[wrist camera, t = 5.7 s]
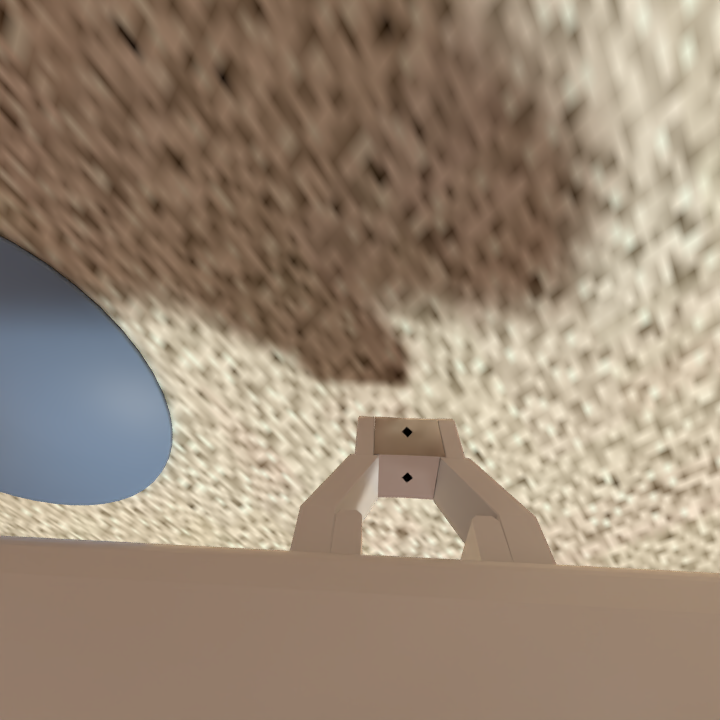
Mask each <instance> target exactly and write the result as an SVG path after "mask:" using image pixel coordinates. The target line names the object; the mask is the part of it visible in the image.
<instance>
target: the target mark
mask: <svg viewBox="0 0 720 720" xmlns="http://www.w3.org/2000/svg"><path fill="white" fill-rule="evenodd" d="M171 447H172V424H171V418H170V412H169V409H168V406H167V403H166V400H165V397H164V394H163V392H162V390H161V388H160V386H159V384H158V382H157V380H156V378H155V376H154V374H153V372H152V371H151V369H150V368H149V366H148V365H147V363H146V362H145V360H144V358H143V357H142V355H141V354H140V352H139V351H138V350H137V349H136V347H135V346H134V345H133V344H132V342H131V341H130V340H129V339H128V337H127V336H126V335H125V334H124V332H123V331H122V330H121V329H120V328H119V327H118V326H117V325H116V324H115V323H114V322H113V321H112V320H111V318H110V317H109V316H108V315H107V314H106V313H105V312H104V311H103V310H102V309H101V308H100V307H99V306H98V305H96V304H95V303H94V302H93V301H92V300H91V299H90V298H89V297H87V296H86V295H85V294H84V293H83V292H82V291H81V290H80V289H78V288H77V287H76V286H75V285H74V284H72V283H71V282H70V281H68V280H67V279H66V278H64V277H63V276H62V275H60V274H59V273H58V272H56V271H55V270H54V269H52V268H51V267H50V266H48V265H47V264H46V263H44V262H43V261H41V260H39V259H38V258H36V257H35V256H33V255H32V254H30V253H28V252H27V251H25V250H24V249H22V248H20V247H19V246H17V245H16V244H14V243H13V242H11V241H9V240H7V239H5V238H3V237H1V236H0V492H3V493H6V494H10V495H13V496H17V497H21V498H26V499H30V500H35V501H41V502H47V503H53V504H65V505H96V504H105V503H110V502H115V501H119V500H122V499H125V498H128V497H131V496H133V495H135V494H137V493H139V492H141V491H142V490H144V489H145V488H146V487H148V486H149V485H150V484H151V483H153V482H154V480H155V479H156V478H157V477H158V475H159V474H160V473H161V472H162V470H163V469H164V467H165V465H166V463H167V461H168V459H169V455H170V451H171Z"/></svg>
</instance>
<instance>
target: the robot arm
mask: <svg viewBox="0 0 720 720" xmlns="http://www.w3.org/2000/svg"><path fill="white" fill-rule="evenodd" d="M378 497H404V498H419V499H433V501H434V502H435V504H436V505H437V507H438V508H439V509H440V511H441V512H442V513H443V515H444V516H445V517H446V519H447V520H448V522H449V523H450V524H451V526H452V527H453V528H454V530H455V531H456V533H457V534H458V535H459V537H460V538H461V539H462V541H463V542H464V543H465V546H464V549H463V553H462V556H461V560H456V559H437V558H418V557H399V556H380V555H362V522H363V521H364V519H365V518H366V516H367V515H368V513H369V512H370V510H371V509H372V507H373V505H374V504H375V502H376V501H377V499H378ZM0 720H720V573H708V572H689V571H670V570H651V569H632V568H613V567H593V566H574V565H556V562H555V560H554V558H553V555H552V553H551V551H550V549H549V546H548V544H547V542H546V539H545V537H544V535H543V532H542V530H541V528H540V525H539V523H538V521H537V518H536V517H535V516H534V515H533V514H532V513H531V512H530V511H529V510H527V509H526V508H525V507H524V506H523V505H522V504H521V503H520V502H518V501H517V500H516V499H515V498H514V497H513V496H512V495H511V494H509V493H508V492H507V491H506V490H505V489H504V488H503V487H502V486H500V485H499V484H498V483H497V482H496V481H495V480H494V479H493V478H491V477H490V476H489V475H488V474H487V473H486V472H485V471H484V470H482V469H481V468H480V467H479V466H478V465H477V464H476V463H475V462H473V461H472V460H471V459H470V458H465V456H464V452H463V449H462V445H461V442H460V438H459V435H458V431H457V428H456V424H455V421H454V420H453V419H421V418H393V417H375V429H374V417H368V416H359V418H358V425H357V436H356V447H355V454H350V455H349V456H348V457H347V458H346V459H345V460H344V461H343V462H342V463H341V464H340V465H339V466H338V467H337V469H336V470H335V471H334V472H333V473H332V474H331V475H330V476H329V477H328V478H327V479H326V480H325V481H324V482H323V483H322V484H321V485H320V486H319V487H318V488H317V489H316V490H315V491H314V492H313V494H312V495H311V496H310V497H309V498H308V499H307V500H306V501H305V502H304V503H303V504H302V505H301V506H300V510H299V515H298V519H297V523H296V527H295V531H294V535H293V540H292V544H291V548H290V551H285V550H266V549H246V548H227V547H208V546H189V545H170V544H151V543H131V542H112V541H93V540H74V539H55V538H35V537H16V536H0Z"/></svg>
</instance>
